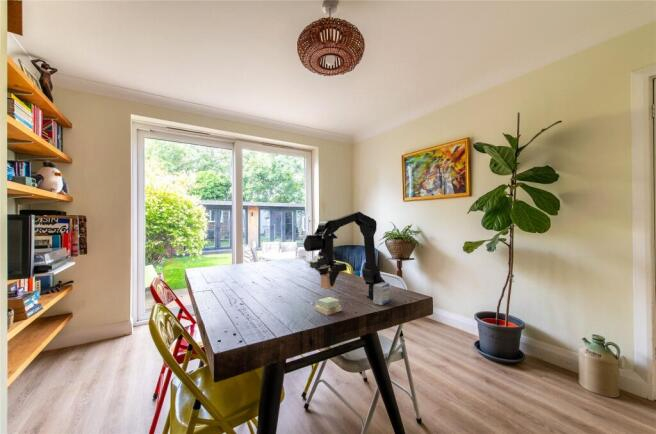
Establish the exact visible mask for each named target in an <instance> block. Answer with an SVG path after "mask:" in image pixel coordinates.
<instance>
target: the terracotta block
mask: <svg viewBox="0 0 656 434" xmlns="http://www.w3.org/2000/svg"><path fill="white" fill-rule="evenodd" d="M320 288H321V289H324V290H331V289H336V282H335V283H334V285H333V286H331V285H330V275H329V273H328V274H324V275H321V276H320Z"/></svg>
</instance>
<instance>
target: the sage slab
mask: <svg viewBox="0 0 656 434" xmlns="http://www.w3.org/2000/svg"><path fill="white" fill-rule="evenodd" d="M317 305H318V306H320V307H323V308H326V309H330V308H333V307H336V306H339V305H340V299H337V298H334V297H330V296H328V297H323V298H320V299H318V300H317Z"/></svg>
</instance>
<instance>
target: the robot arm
mask: <svg viewBox="0 0 656 434" xmlns="http://www.w3.org/2000/svg"><path fill="white" fill-rule="evenodd" d="M351 223H355V224H356V226H358V227H359V230H360V231H359V232H360V233H361V235H362V236H363V245H364V255H365V256H364V257H365V266H364V268H362V269H361V272H362V275H361V276H362V278H363V280H364V282H365V285H368V295H366V298H368V299H372V300H374V299H373V297H374V296H373V286H374V285H376V284H378V283H380V282H386V281H385V280H384V278H383V277H382V276H381V270H380V268H379V267H378V266H377V261H376V249H375V248H376V247H375V234H376V232H377V224H378V223H377V220H375V218H373V217H370V216H368V215H366V214H364V213H363V212H361V211H353V212H351V213H349V214H345V215H342V216H340V217H337V218H333V219H329V220H327V219H326V220H321V221H319V222H318V225H317V228H316V230H315V232H314V233H313V234H306V235H305V236H306V237H305V239H304V241H303V249H304V250H305V252H316V251H319V252H318V254H317V256H315V257H313V258H311V259H310V260H309V267H310V268H311V269H314V270H316V271H317V273H318V274H319V275H320V277H321V275H324V274H329V275H330V285H331V286H333V285H334V283H335V284H336V281H337V277H338V276H339V274H340V273H341V272H346V271H348V265H347V264H346V263H343V262H337V261H336V260H335V255H336V254H337V251H335V250H334V247H335V246H334V245H335V244H334V242H335V241H334V239H336V240H337V239H338V236H337V235H336V234H335V232H337V231H338V230H339V228H342V227H344V226H346V225H349V224H351Z"/></svg>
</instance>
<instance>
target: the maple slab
mask: <svg viewBox="0 0 656 434" xmlns="http://www.w3.org/2000/svg"><path fill="white" fill-rule="evenodd" d="M342 309H343V308H342V305H340V304H339V306H336V307H333V308H330V309H326V308H323V307H320V306H318V304H317V305H315V311H316V312H318V313H320V314H323V315H325V316H329V315H332V314H335V313H338V312H341V311H342Z"/></svg>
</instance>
